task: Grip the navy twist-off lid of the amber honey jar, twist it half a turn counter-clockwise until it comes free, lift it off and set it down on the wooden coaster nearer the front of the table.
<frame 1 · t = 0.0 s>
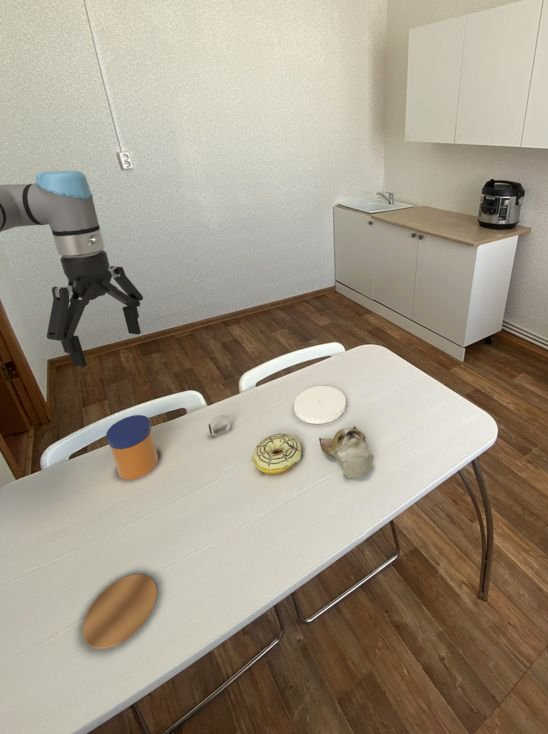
hand: (109, 348, 82), 28 cm above the table, tool pointing down, fingers open, 13 cm apart
jar lid: (128, 429, 83), point 11 cm above the table, screwed on, not yet turned
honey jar: (139, 466, 87), on the table
wooden coaster: (122, 611, 60), on the table
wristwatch: (221, 434, 97), on the table
ceramic sculpture: (349, 461, 88), on the table
plastic lid: (320, 409, 105), on the table
decorated donut: (278, 460, 89), on the table
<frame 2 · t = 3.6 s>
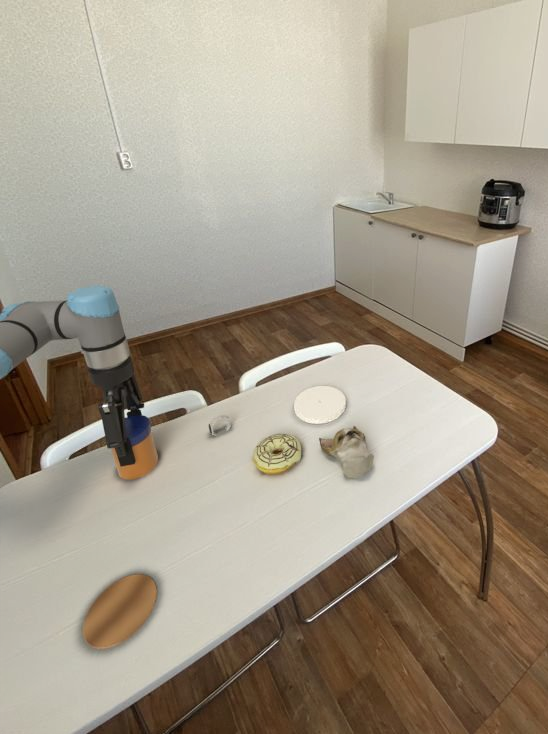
hand: (134, 448, 85), 5 cm above the table, tool pointing down, fingers closed on jar lid, 8 cm apart
jar lid: (128, 429, 83), point 11 cm above the table, screwed on, not yet turned, touching gripper
everything else where it was.
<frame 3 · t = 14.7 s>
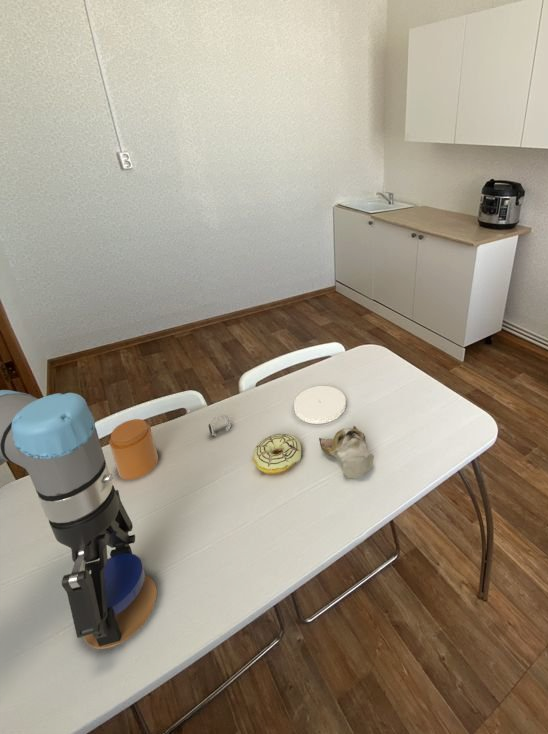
hand: (120, 606, 60), 1 cm above the table, tool pointing down, fingers closed on jar lid, 8 cm apart
jar lid: (112, 582, 58), point 7 cm above the table, off its thread, touching gripper
everything else where it was.
when the fingers open (1 cm above the table, at t = 22.1 s): jar lid drops 2 cm, point 5 cm above the table.
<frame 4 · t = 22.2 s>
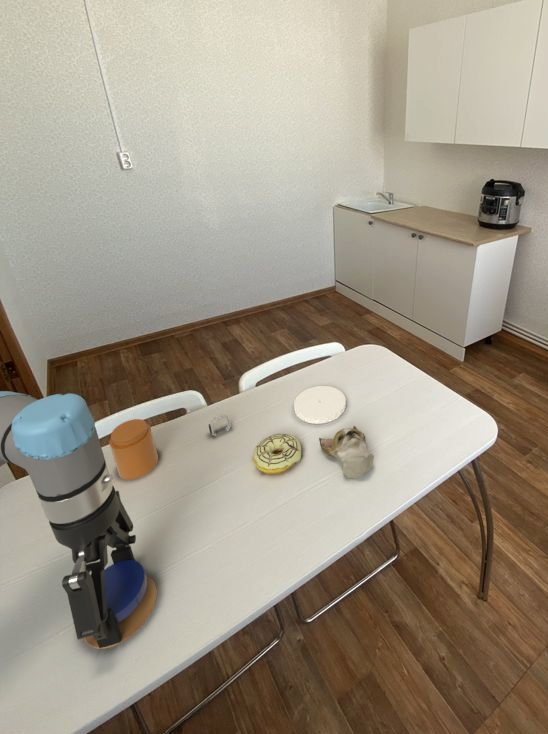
hand: (120, 607, 60), 1 cm above the table, tool pointing down, fingers open, 8 cm apart
jar lid: (114, 589, 58), point 5 cm above the table, off its thread
everything else where it was.
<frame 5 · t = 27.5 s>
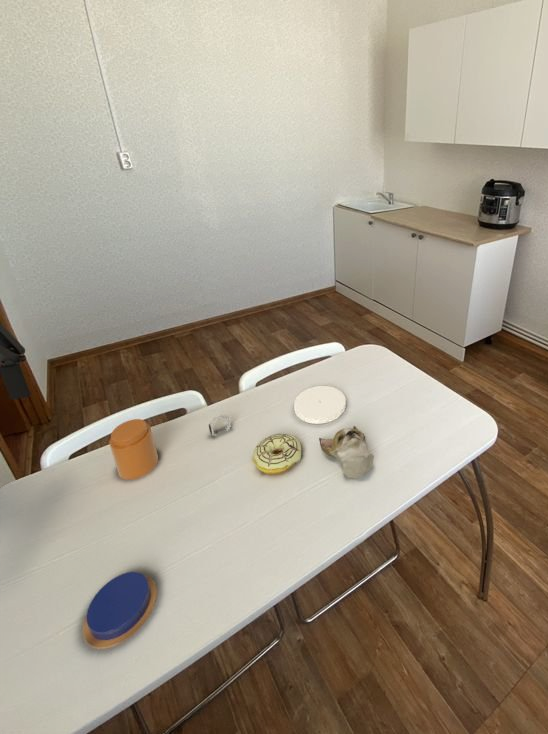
jar lid: (119, 601, 60), point 2 cm above the table, off its thread, touching wooden coaster
everything else where it was.
at the end: jar lid inside the target area on the wooden coaster (0.0 cm from its centre), point 2.3 cm above the wooden coaster's base; jar lid point 2.3 cm above the table; the gripper is holding nothing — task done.
